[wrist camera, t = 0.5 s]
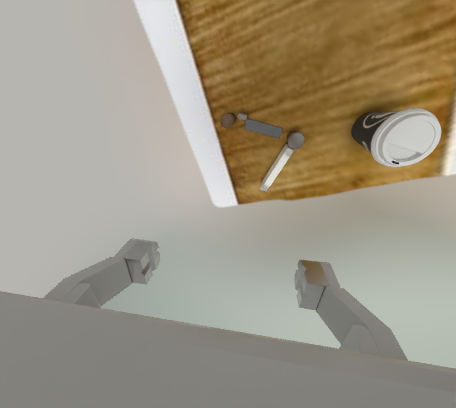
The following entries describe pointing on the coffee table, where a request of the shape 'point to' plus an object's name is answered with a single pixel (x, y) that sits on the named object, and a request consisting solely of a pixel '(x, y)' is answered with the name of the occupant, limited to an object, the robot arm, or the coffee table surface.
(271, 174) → the white long block
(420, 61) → the coffee table surface
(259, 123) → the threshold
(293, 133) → the hinge post
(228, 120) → the brown rounded cylinder
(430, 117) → the coffee cup
